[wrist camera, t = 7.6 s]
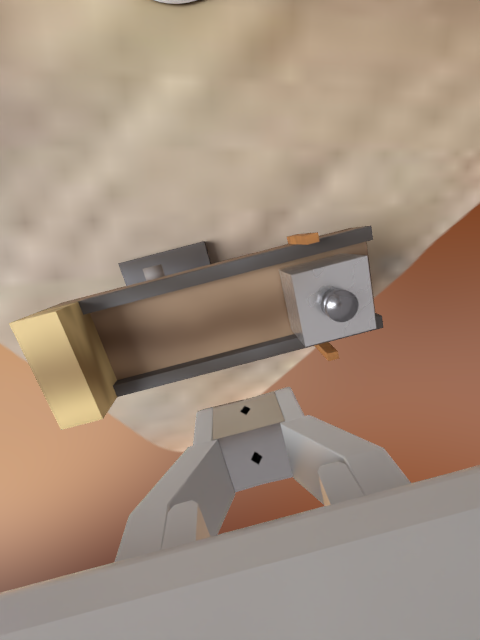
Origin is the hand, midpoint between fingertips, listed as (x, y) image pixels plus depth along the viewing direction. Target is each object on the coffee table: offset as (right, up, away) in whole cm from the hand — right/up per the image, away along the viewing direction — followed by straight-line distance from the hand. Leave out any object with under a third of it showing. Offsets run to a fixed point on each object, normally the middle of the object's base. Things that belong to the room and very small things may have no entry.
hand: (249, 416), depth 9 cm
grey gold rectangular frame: (-2, +6, +24) cm, 24 cm away
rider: (+6, +5, +14) cm, 16 cm away
